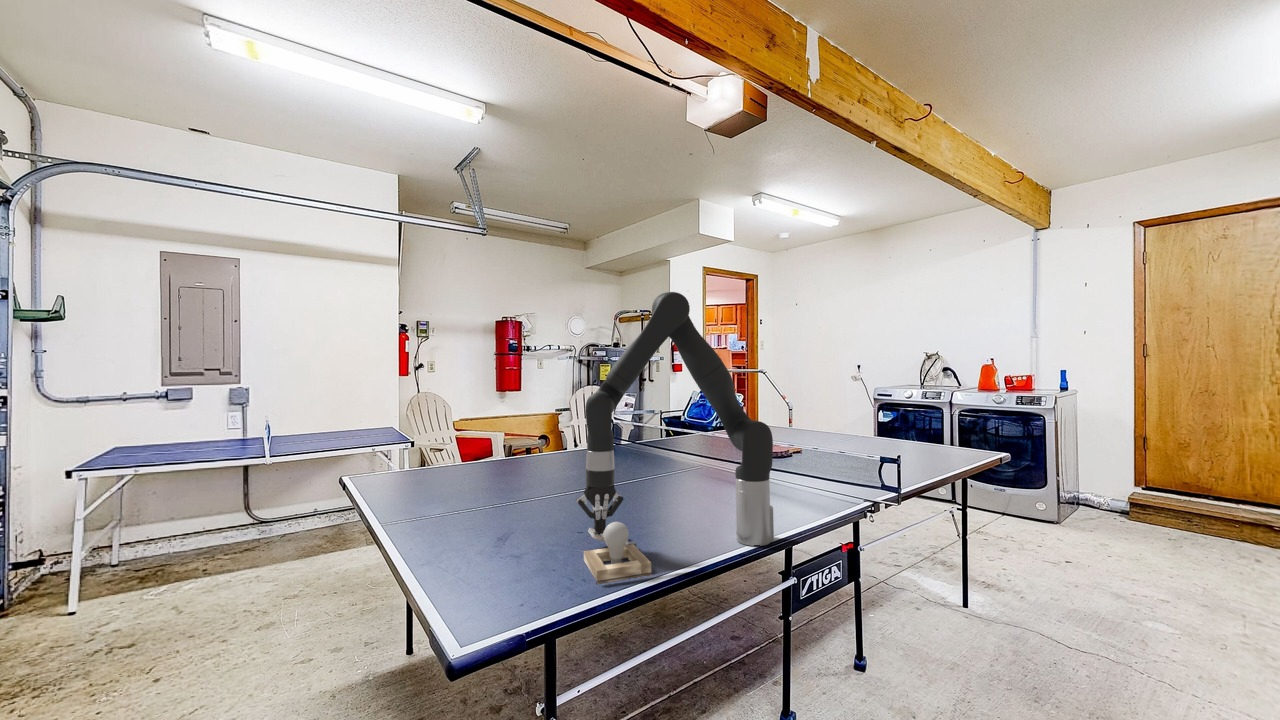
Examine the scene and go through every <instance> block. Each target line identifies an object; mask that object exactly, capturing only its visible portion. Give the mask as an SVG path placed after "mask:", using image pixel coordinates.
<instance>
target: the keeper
mask: <svg viewBox="0 0 1280 720" xmlns="http://www.w3.org/2000/svg"><path fill="white" fill-rule="evenodd" d="M587 532H588V533H589V534H590V537H591V538H592V539H594V540H599V541H601V542H604V543H606V542H605V540H604V531H603V534H598V533H597V532H596V531H595V530H594V528H592V527H588V530H587ZM629 542H630V541H629V540H628V541H627V543H626V545H628V543H629Z"/></svg>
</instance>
